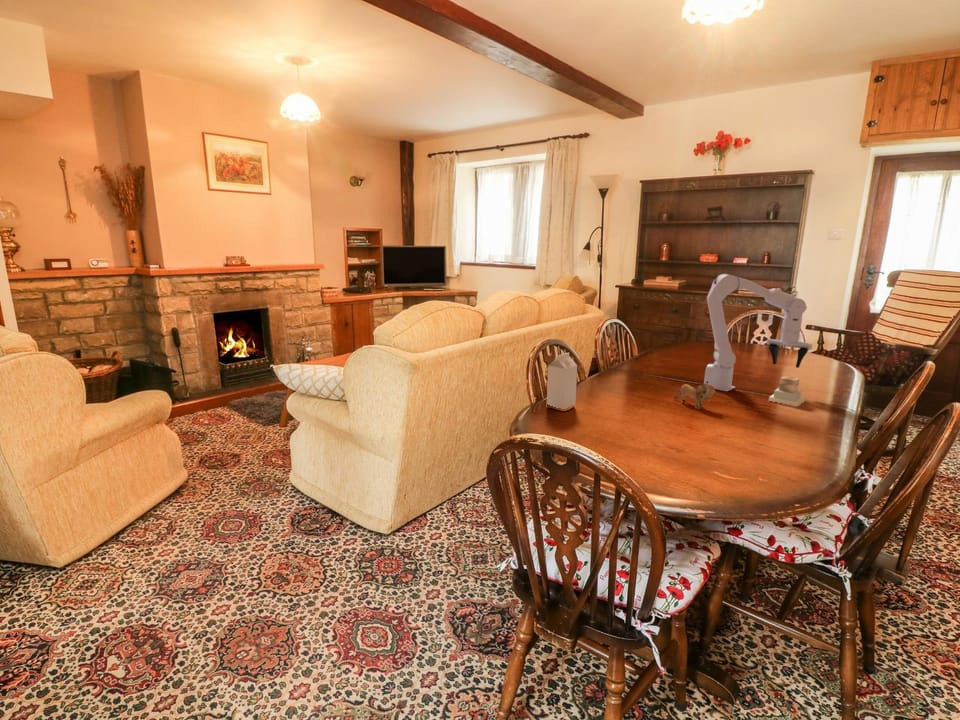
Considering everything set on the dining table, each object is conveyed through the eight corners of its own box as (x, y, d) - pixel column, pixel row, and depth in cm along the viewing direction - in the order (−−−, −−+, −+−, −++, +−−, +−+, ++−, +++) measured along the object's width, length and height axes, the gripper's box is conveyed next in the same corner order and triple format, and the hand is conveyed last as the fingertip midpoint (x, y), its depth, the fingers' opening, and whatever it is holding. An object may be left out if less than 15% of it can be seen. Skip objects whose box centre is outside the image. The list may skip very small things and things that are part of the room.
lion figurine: (715, 409, 169) (718, 383, 167) (706, 412, 166) (709, 386, 164) (677, 398, 181) (679, 374, 179) (668, 400, 178) (670, 376, 176)
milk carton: (546, 408, 169) (548, 354, 165) (558, 403, 174) (560, 350, 170) (563, 413, 164) (566, 357, 160) (575, 408, 169) (578, 353, 165)
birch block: (778, 390, 177) (780, 377, 176) (783, 387, 180) (785, 376, 179) (792, 392, 174) (794, 380, 173) (797, 390, 176) (799, 378, 175)
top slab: (773, 397, 177) (774, 390, 176) (778, 393, 182) (779, 386, 181) (796, 401, 172) (797, 394, 172) (800, 397, 177) (801, 390, 177)
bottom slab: (768, 403, 178) (769, 396, 178) (776, 398, 184) (777, 391, 184) (796, 409, 172) (797, 402, 171) (804, 403, 178) (805, 397, 177)
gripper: (766, 329, 186) (761, 364, 189) (811, 333, 176) (805, 370, 179) (771, 326, 191) (766, 361, 194) (815, 331, 181) (810, 367, 184)
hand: (785, 365), depth 187 cm, fingers open, 7 cm apart
